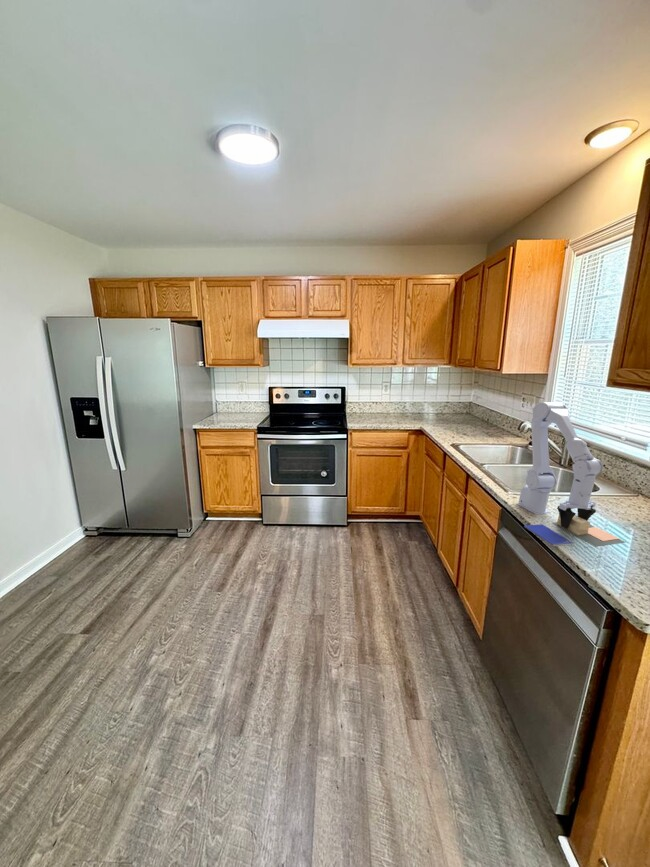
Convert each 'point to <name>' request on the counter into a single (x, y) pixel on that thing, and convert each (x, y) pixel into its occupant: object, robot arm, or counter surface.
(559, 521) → the maple block
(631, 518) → the counter surface
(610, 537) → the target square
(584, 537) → the rubber mat
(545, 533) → the hard drive
